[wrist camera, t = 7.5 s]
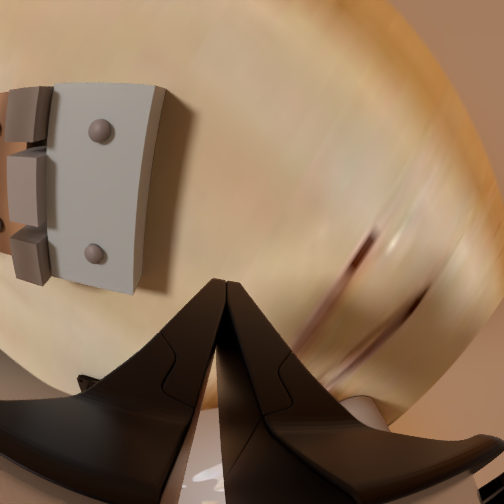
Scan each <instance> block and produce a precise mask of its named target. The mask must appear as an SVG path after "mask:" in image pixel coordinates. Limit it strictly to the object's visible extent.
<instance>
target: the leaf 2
mask: <svg viewBox="0 0 504 504" xmlns="http://www.w3.org/2000/svg"><path fill="white" fill-rule="evenodd" d="M165 92H166V89H165V88H162V87H159V86H155V85H144V84H129V83H99V82H84V83H55V84H54V90H53V96H52V102H51V110H50V117H49V127H48V137H47V146H43V145H39V146H35V147H32V148H29V149H26V150H23V151H20V152H17V153H14V154H12V155H9V156H7V193H8V208H9V219H10V221H11V222H16V223H21V224H26V225H31V226H35V227H39V226H40V225H41V224H43V223H44V222H45V221H46V220H47V233H48V244H49V254H50V262H51V269H52V276H53V277H57V278H61V279H65V280H68V281H72V282H76V283H81V284H85V285H89V286H93V287H97V288H102V289H106V290H110V291H115V292H120V293H124V294H129V295H133V294H134V292H135V290H136V288H137V285H138V283H139V281H140V279H141V277H142V269H143V250H144V236H145V223H146V212H147V203H148V194H149V185H150V177H151V170H152V163H153V156H154V150H155V144H156V138H157V132H158V126H159V121H160V116H161V111H162V106H163V101H164V96H165Z"/></svg>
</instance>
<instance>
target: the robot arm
mask: <svg viewBox="0 0 504 504" xmlns="http://www.w3.org/2000/svg"><path fill="white" fill-rule="evenodd" d="M215 349H216V368H217V390H218V408H219V424H220V439H221V453H222V466H223V477H224V489H225V499H226V504H504V472H503V473H502V474H500V475H499V476H498V477H496V478H495V479H493V480H492V481H491V482H489V483H487V484H486V485H484V486H483V487H481V488H480V489H478V488H477V485H476V482H475V479H474V477H473V474H474V473H476V472H477V471H478V470H480V469H481V468H483V467H484V466H486V465H487V464H488V463H490V462H491V461H492V460H494V459H495V458H496V457H497V456H499V455H500V454H501V453H502V452H503V451H504V441H503V440H502V439H500V438H498V437H494V436H490V435H484V434H478V435H476V436H473V437H471V438H469V439H465V440H460V441H443V440H434V439H427V438H420V437H414V436H408V435H403V434H397V433H392V432H387V431H382V430H378V429H374V428H372V427H369V426H367V425H365V424H364V423H362V422H361V421H359V420H358V419H357V418H355V417H354V416H353V415H352V414H351V413H350V412H349V411H348V410H347V409H346V408H345V407H344V406H343V405H342V404H341V403H340V402H338V401H337V400H336V399H335V398H334V397H333V396H332V395H331V394H330V393H329V392H328V391H327V390H326V389H325V388H324V387H323V386H322V385H321V384H320V383H319V382H318V381H317V380H316V379H315V377H314V376H313V375H312V374H311V373H310V372H309V371H308V370H307V369H306V367H305V366H304V365H303V364H302V363H301V361H300V360H299V359H298V358H297V356H296V355H295V354H294V353H293V352H292V350H291V349H290V348H289V346H288V345H287V344H286V342H285V341H284V340H283V339H282V337H281V336H280V335H279V333H278V332H277V331H276V330H275V328H274V327H273V326H272V324H271V323H270V322H269V321H268V319H267V318H266V317H265V315H264V314H263V313H262V311H261V310H260V309H259V307H258V306H257V305H256V304H255V302H254V301H253V300H252V298H251V297H250V296H249V294H248V293H247V292H246V290H245V289H244V288H243V286H242V285H241V284H240V283H238V282H233V281H227V282H226V281H225V280H221V279H216V278H213V279H211V280H210V281H209V282H208V283H207V284H206V285H205V286H204V287H203V288H202V289H201V290H200V291H199V292H198V293H197V294H196V295H195V296H194V297H193V298H192V299H191V300H190V301H189V302H188V303H187V304H186V305H185V306H184V307H183V308H182V309H181V310H180V311H179V312H178V313H177V314H176V315H175V316H174V317H173V318H172V319H171V320H170V321H169V322H168V323H167V324H166V325H165V326H164V327H163V328H162V329H161V330H160V331H159V333H157V334H156V335H155V336H154V337H153V338H152V339H151V340H150V341H149V342H148V343H147V344H146V345H145V346H144V347H143V348H142V349H141V350H139V351H138V352H137V353H136V354H134V355H133V356H132V357H131V358H129V359H128V360H127V361H126V362H124V363H123V364H122V365H120V366H119V367H118V368H116V369H115V370H113V371H112V372H111V373H109V374H108V375H107V376H105V377H104V378H103V379H101V380H100V381H98V380H95V379H92V378H89V377H85V376H82V375H79V376H78V378H77V381H78V384H79V386H80V389H81V393H79V394H77V395H73V396H69V397H60V398H48V399H30V400H0V504H178V500H179V496H180V492H181V488H182V483H183V479H184V475H185V471H186V467H187V463H188V459H189V454H190V450H191V446H192V442H193V438H194V434H195V430H196V426H197V422H198V417H199V414H200V410H201V406H202V402H203V398H204V394H205V390H206V386H207V382H208V378H209V374H210V370H211V366H212V362H213V358H214V354H215Z"/></svg>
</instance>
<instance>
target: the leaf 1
mask: <svg viewBox="0 0 504 504" xmlns="http://www.w3.org/2000/svg"><path fill="white" fill-rule="evenodd" d="M53 90H54V87H45V86H39V87H29V88H20V89H13V90H9V92H4V93H0V252H2V253H6V254H9V255H12V259H13V264H14V269H15V274H16V278H18V279H21V280H24V281H27V282H30V283H33V284H37V285H40V286H43V285H44V284H45V283H46V282H47V281H48V280H49V278H50V277H51V276H52V269H51V262H50V254H49V244H48V233H47V220H46V221H45V222H44V223H43V224H41V225H40V226H39V227H35V226H31V225H26V224H21V223H16V222H11V221H10V219H9V208H8V193H7V156H9V155H12V154H14V153H17V152H20V151H23V150H26V149H29V148H32V147H35V146H37V141H40V140H44V139H47V137H48V127H49V117H50V110H51V102H52V96H53Z"/></svg>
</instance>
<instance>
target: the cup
mask: <svg viewBox="0 0 504 504" xmlns="http://www.w3.org/2000/svg"><path fill="white" fill-rule="evenodd" d="M340 403H341V404H342V405H343V406H344V407H345V408H346V409H347V410H348V411H349V412H350V413H351V414H352V415H353V416H354V417H355V418H357V419H358V420H359V421H361V422H362V423H364V424H365V425H367V426H369V427H372V428H374V429H378V430H382V431H387V432H390V430H389V428H388V426H387V424H386V422H385V421H384V419H383V417H382V415H381V414H380V412H379V410H378V409H377V407H376V405H375V403H374V402H373V400H372V398H370V397H366V396H356V397H351V398H348V399H345V400H343V401H341V402H340Z"/></svg>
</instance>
